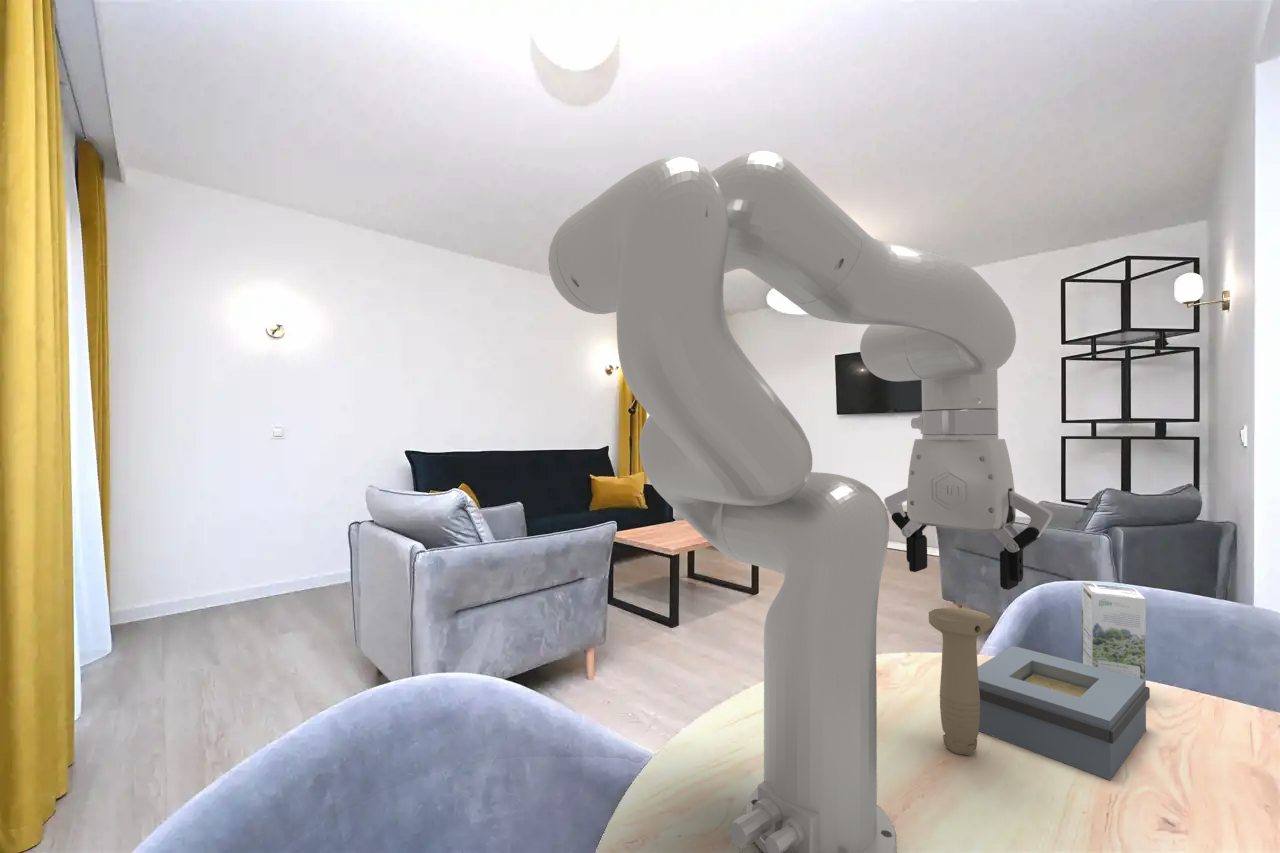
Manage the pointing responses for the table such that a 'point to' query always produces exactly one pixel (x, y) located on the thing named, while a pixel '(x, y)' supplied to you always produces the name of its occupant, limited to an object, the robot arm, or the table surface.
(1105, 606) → the syrup box
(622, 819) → the table surface
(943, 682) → the handle
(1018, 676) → the collar block
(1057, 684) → the plate
